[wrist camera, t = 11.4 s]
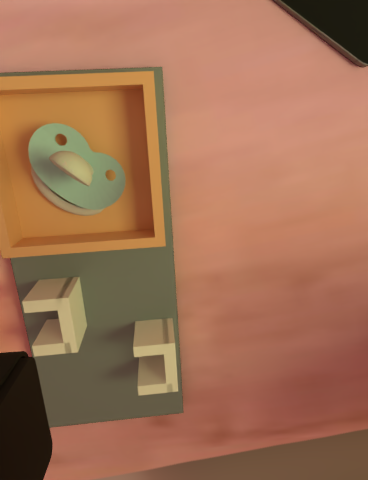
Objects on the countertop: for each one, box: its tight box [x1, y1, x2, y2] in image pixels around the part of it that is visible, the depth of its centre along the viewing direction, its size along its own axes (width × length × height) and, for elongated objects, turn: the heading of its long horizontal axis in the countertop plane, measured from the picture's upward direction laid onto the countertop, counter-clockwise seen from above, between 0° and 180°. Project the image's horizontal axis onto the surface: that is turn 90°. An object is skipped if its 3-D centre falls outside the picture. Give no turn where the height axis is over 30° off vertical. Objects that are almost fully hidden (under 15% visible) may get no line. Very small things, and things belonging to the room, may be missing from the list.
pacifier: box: [28, 123, 126, 216], centre depth 24 cm, size 7×6×6 cm
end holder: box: [0, 71, 166, 258], centre depth 25 cm, size 13×13×3 cm
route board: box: [0, 67, 183, 428], centre depth 28 cm, size 14×33×5 cm, turn 3°
